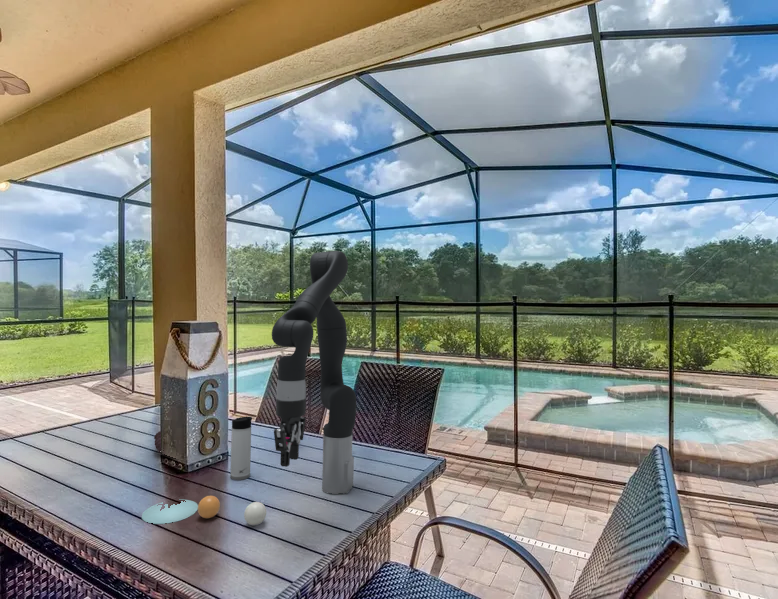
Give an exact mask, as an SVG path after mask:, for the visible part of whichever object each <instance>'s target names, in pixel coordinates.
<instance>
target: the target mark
mask: <svg viewBox="0 0 778 599" xmlns="http://www.w3.org/2000/svg"><path fill="white" fill-rule="evenodd" d="M184 500H185V501H186V502H185V501H184V502H183V501H181V503H180V504H177V505H175V504H173V505H171V506H170V508H168V504H165V505H164V506H165V508H164V509H162V510H161V511H160V509H161V507H162V505H158V504H163V502H164V501H162V502H158V503H156V504H154V505H151V506H149V507H147V509H145V510H144V511H143V512H142V513H141V520H142V521H143V522H145V523H147V522H148V524H151V523H153V525H166V524H165V523H167V524H173V523H177V522H180V521H182V520H185V519H187V518H189V517H192V516H193V515H194V514H196V512H198V503H197V502H196V501H193V500H190V499H184ZM157 505H158V506H157ZM172 522H173V523H172Z"/></svg>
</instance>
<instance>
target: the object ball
mask: <svg viewBox="0 0 778 599" xmlns="http://www.w3.org/2000/svg"><path fill="white" fill-rule="evenodd" d="M197 505H198V510H197V512H198V514H199V516H200V517H202V518H203V519H211V518H214V517H215V516H216V515H217V514H218V513H219V511H220V508H221V507H220V506H221V503H220V500H219V499H218V497H217V496H214V495H206V496H204V497H203V498H201V500H200V501H199V503H197Z"/></svg>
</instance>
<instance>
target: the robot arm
mask: <svg viewBox="0 0 778 599" xmlns="http://www.w3.org/2000/svg"><path fill="white" fill-rule="evenodd" d="M348 269H349V262H348V258H347V256H346V254H345V253H344V252H342V251H340V250H330V251H319V252H318V251H317V252H314V253H313V254H312V255H311V257H310V260H309V272H310V277H311V279H310V280H311V284H310V285H309V286H308V287H307V288H305V289H304V290H303V291H302V292H301V294H299V296H298V297H297V299H296V301H295V302H294V305H293V306H292V307H290V308H289V309H288V310H287V311H286V312H285V313H284V314H282V315H281V316H280V317H279V318H278V319H277V321H275V323H274V325H273V326H272V329H271V339H272V341H273V343H274V344H275V345H277V347H282V348H283V347H286V348H287V347H289V348H295V349H294V351H293V353H292V354H291V355H286V356H282V357H280V358H279V360H278V364H277V385H276V397H275V398H276V399H275V402H276V403H275V404H276V405H275V410H276V411H275V415H276V416H277V417H279V418H280V424H279V427H278V428H274V430H273V436H274V437H273V438H274V443H275V444H274V446H275V451H277V452H280V466H281V467H285V468H286V467H289V466H290V464H291V463H290V461H291V460H296V461H297V460H298V459H299V458H300V456H299V455H300V454H299V452H300V451H299V449H300V447H299V446H300V444H301V441H303V440H304V436H305V435H304V434H305V426H306V417H305V415H306V408H307V403H306V402H307V398H306V397H307V384H306V369H307V368H306V365H307V360H308V356H309V352H310V348H311V345H312V342H313V340H314V339H313V338H314V328H313V326H312V324H313V323H314V322H315V321H316V329H317V330H316V334H317V343H318V355H319V364H320V392H319V393H320V395H319V396H320V401H321V403H322V406H323V407H324V408H325V409H327V410H328V411H329V412H328V422H327V423H326V424H324V425H323V429H322V430H323V434H322V436H323V437H322V473H321V476H322V477H321V478H322V479H321V483H322V484H321V488H322V489H323V490H322V489H321V490H322V491H323V492H324V491H325V492H324V493H326V492H328V493H327V494H329V493H332V494H331V495H339V494H338V493H343V494H345V493H349V492H350V491H351V490H352V489H353V487H354V477H355V476H354V473H355V472H354V471H355V470H354V469H355V468H354V467H355V466H354V465H355V457H354V456H353V432H354V431H353V430H354V427H355V424H356V419H357V418H356V416H357V415H356V414H357V413H356V412H357V395H356V392H355V390H354V389H353V387H351V386H350V385H348V384H345V382H344V378H343V360H344V356H345V352H346V349H347V345H348V344H347V343H348V333H347V323H346V322H347V321H346V318H345V317H344V315H343V313H342V311H341V310H340V309H339V308H338V307H337V305H336V304H335V302H334V301H333V299H332V297H331V294H332V293H333V292H334V291H335V289H336V288H337V287H338V286H339V285H340V284H341V282H342V281H343V280H344V279H345V277H346V275H347V273H348ZM303 416H304V417H303ZM286 437H289V439H286ZM286 442H287V444H286ZM352 486H353V487H352ZM350 489H351V490H350ZM349 490H350V491H349ZM348 491H349V492H348Z"/></svg>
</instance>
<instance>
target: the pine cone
mask: <svg viewBox="0 0 778 599" xmlns="http://www.w3.org/2000/svg"><path fill="white" fill-rule="evenodd" d="M161 431H162V430H160V431H158V432H156V433H155V435H154V436H153V439H154V447H155V449H156V451H157V452H158V453H160V451H161ZM160 454H161V453H160Z"/></svg>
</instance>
